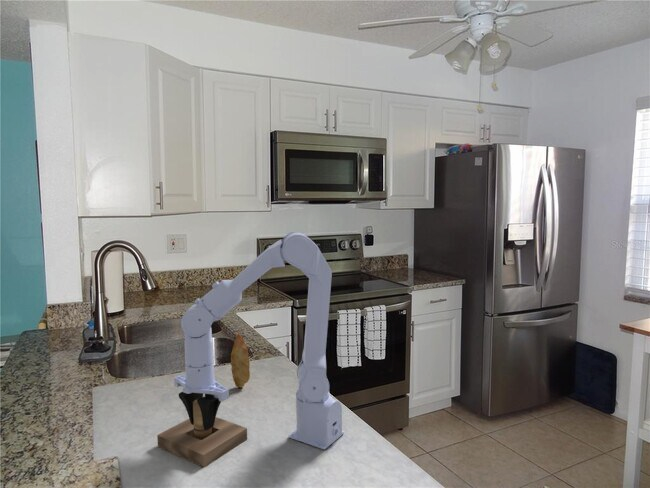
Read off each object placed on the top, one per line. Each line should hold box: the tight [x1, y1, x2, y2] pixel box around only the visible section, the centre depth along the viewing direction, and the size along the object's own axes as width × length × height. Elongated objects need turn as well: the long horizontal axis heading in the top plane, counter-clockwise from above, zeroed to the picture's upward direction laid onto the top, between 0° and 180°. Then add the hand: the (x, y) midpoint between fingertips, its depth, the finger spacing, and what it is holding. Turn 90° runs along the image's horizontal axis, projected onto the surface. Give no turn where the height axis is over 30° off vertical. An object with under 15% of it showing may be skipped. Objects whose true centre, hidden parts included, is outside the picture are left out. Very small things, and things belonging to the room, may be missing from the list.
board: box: [156, 416, 248, 468], centre depth 95 cm, size 14×12×2 cm
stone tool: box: [230, 332, 251, 388], centre depth 123 cm, size 5×2×15 cm, turn 93°
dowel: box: [193, 399, 212, 440], centre depth 95 cm, size 4×4×8 cm
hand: (202, 425), depth 95 cm, fingers closed on dowel, 3 cm apart
